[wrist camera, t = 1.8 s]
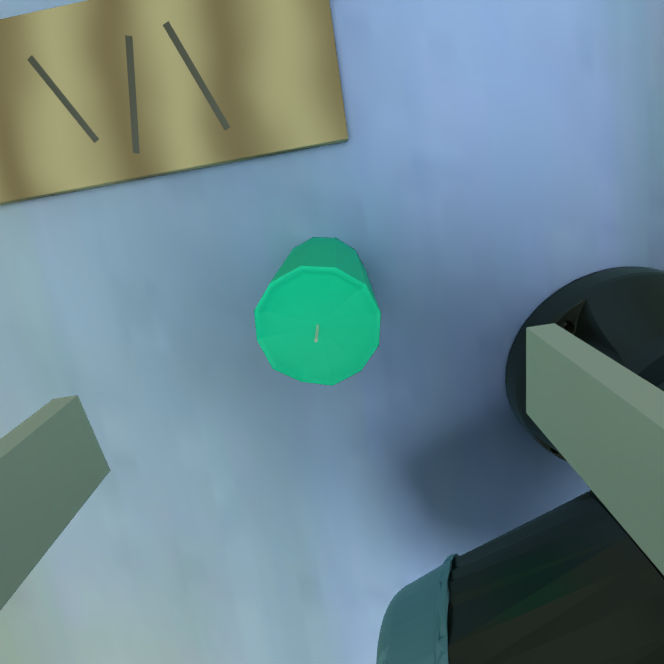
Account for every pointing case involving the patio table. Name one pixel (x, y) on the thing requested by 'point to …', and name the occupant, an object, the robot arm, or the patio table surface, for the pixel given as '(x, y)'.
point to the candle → (319, 314)
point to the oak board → (161, 89)
